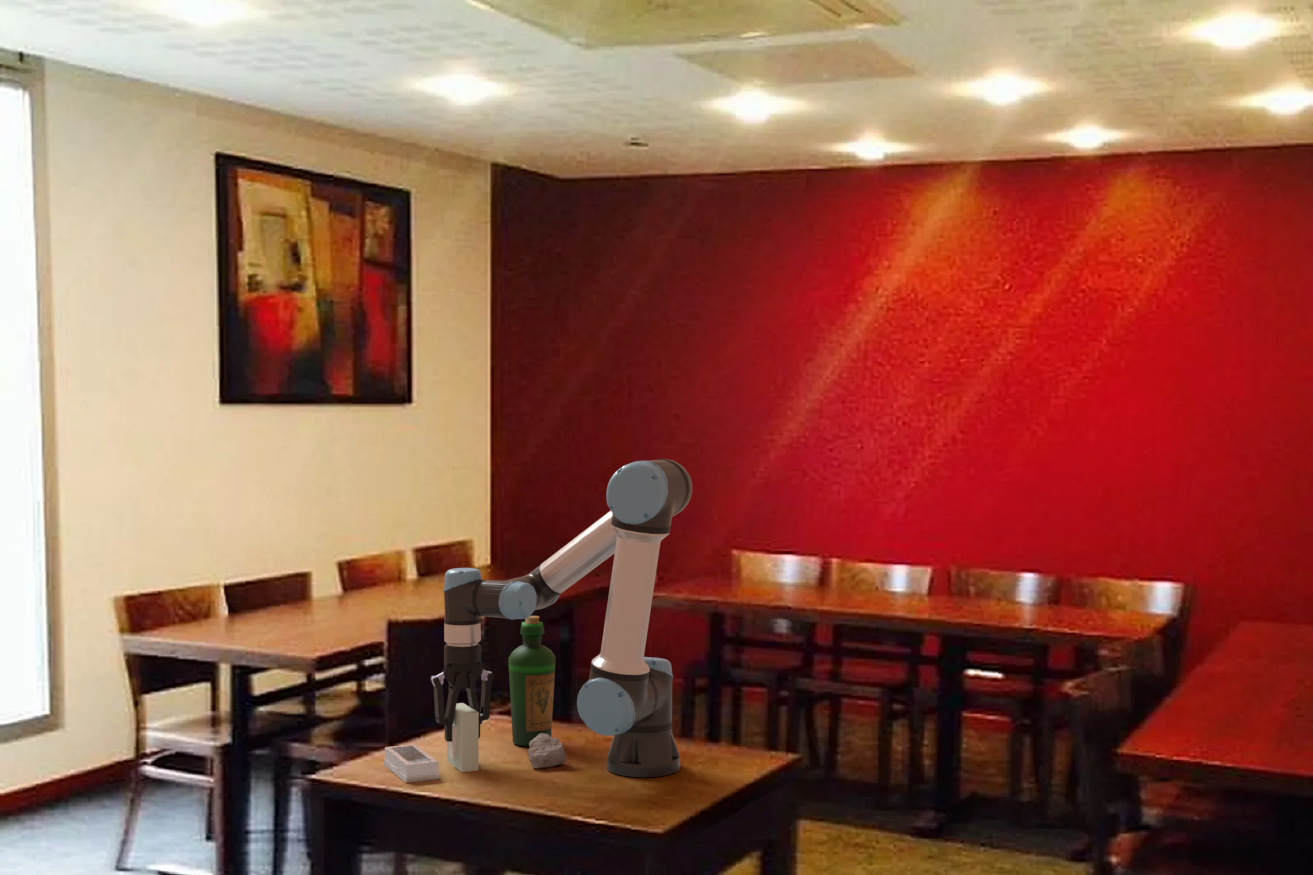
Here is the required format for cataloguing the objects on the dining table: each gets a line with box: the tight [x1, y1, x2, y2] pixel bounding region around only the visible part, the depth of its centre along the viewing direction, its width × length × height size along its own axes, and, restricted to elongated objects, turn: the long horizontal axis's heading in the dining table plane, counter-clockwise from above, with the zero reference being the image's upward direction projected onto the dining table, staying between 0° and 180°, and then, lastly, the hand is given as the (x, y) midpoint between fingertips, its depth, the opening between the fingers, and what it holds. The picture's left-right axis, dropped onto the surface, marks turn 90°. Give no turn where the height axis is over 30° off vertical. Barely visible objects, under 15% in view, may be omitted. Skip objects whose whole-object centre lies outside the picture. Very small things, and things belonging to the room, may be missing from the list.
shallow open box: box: [383, 743, 440, 784], centre depth 303 cm, size 16×7×4 cm, turn 26°
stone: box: [527, 733, 567, 769], centre depth 310 cm, size 10×8×6 cm
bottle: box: [507, 615, 557, 748], centre depth 327 cm, size 11×11×28 cm
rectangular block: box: [446, 702, 480, 773], centre depth 308 cm, size 10×4×12 cm, turn 26°
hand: (462, 755), depth 308 cm, fingers closed on rectangular block, 3 cm apart
